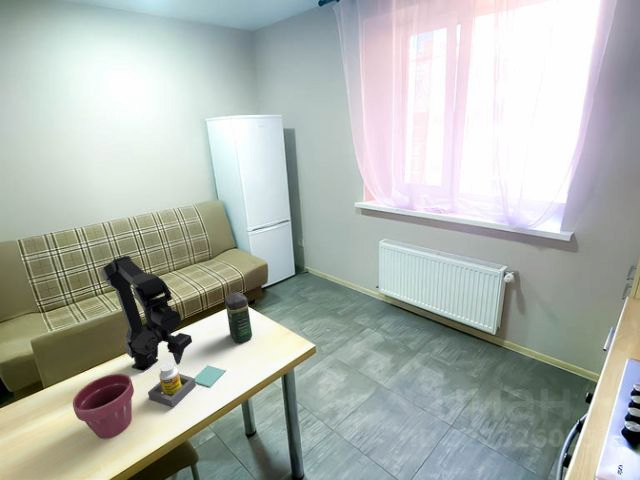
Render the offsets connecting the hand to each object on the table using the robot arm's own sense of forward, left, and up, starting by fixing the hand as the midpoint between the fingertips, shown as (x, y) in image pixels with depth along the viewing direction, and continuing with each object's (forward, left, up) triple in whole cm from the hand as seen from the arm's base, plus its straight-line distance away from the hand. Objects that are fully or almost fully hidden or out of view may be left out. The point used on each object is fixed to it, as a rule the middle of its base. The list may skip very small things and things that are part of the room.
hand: (167, 360), depth 105 cm
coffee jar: (+3, +33, -13) cm, 35 cm away
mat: (+6, +10, -12) cm, 17 cm away
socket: (0, 0, -12) cm, 12 cm away
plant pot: (-7, -16, -13) cm, 22 cm away
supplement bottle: (0, 0, -13) cm, 13 cm away
